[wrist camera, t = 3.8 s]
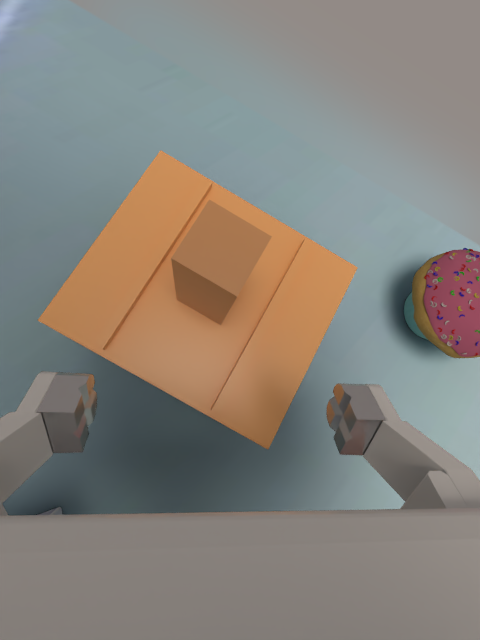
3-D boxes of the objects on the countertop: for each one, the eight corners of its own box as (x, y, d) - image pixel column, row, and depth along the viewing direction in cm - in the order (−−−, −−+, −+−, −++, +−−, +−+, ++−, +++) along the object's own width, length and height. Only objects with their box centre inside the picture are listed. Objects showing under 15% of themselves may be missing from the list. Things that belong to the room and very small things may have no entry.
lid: (54, 327, 21) (-49, 285, 12) (163, 173, 24) (148, 44, 15) (259, 441, 22) (311, 487, 13) (340, 278, 25) (432, 217, 15)
